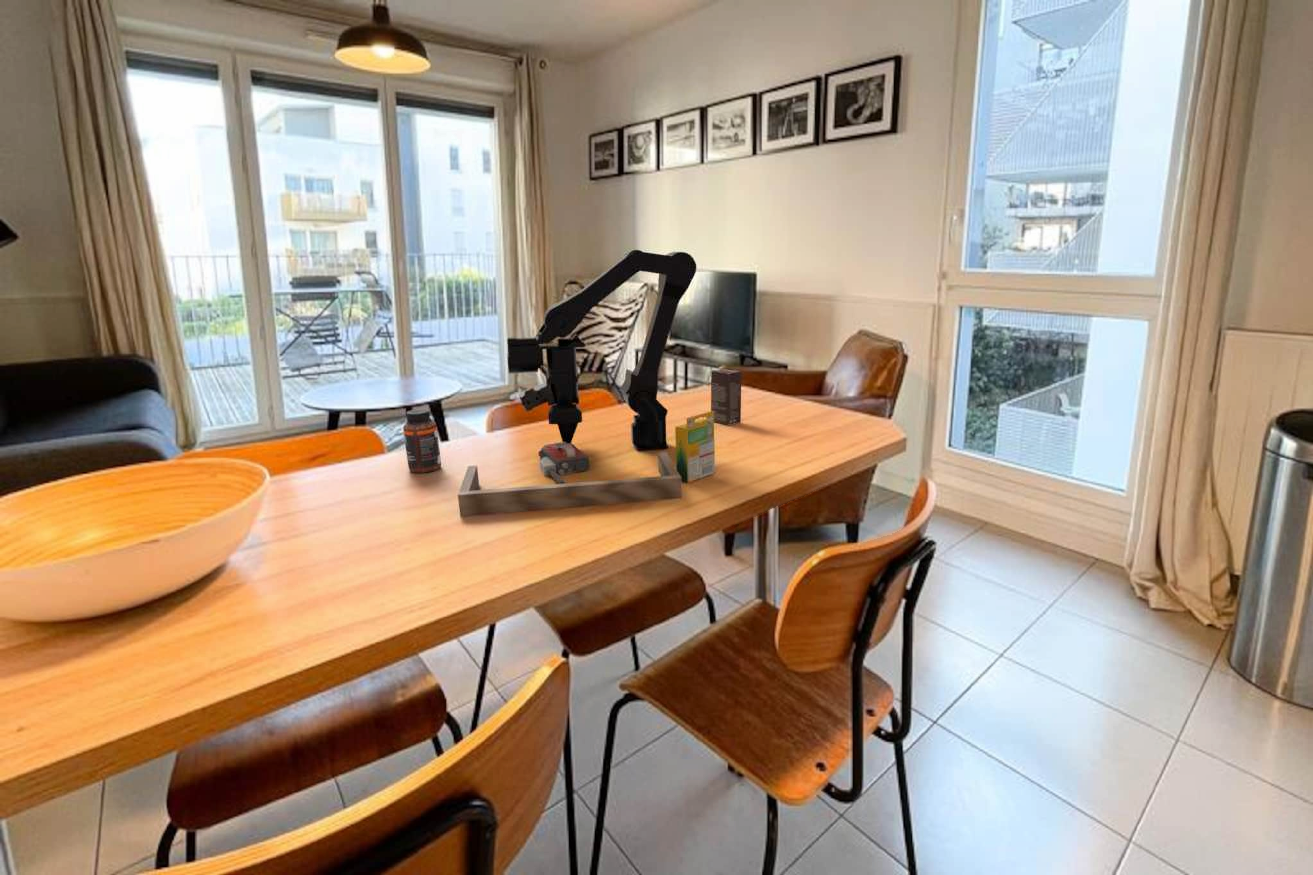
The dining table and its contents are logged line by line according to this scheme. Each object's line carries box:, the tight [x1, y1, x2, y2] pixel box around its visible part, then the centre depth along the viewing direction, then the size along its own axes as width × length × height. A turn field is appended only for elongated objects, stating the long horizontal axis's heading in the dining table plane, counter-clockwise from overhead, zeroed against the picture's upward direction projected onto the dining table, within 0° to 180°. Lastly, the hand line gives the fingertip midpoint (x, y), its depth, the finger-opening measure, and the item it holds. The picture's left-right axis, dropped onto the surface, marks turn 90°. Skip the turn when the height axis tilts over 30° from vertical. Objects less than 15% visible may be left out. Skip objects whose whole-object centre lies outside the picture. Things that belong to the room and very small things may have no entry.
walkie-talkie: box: [538, 441, 591, 484], centre depth 124 cm, size 9×4×20 cm
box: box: [710, 368, 742, 426], centre depth 154 cm, size 6×4×12 cm
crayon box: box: [674, 410, 716, 484], centre depth 117 cm, size 7×3×12 cm, turn 134°
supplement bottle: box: [402, 408, 442, 474], centre depth 126 cm, size 6×6×11 cm
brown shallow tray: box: [457, 451, 683, 517], centre depth 113 cm, size 35×14×4 cm, turn 99°
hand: (566, 447), depth 135 cm, fingers closed
